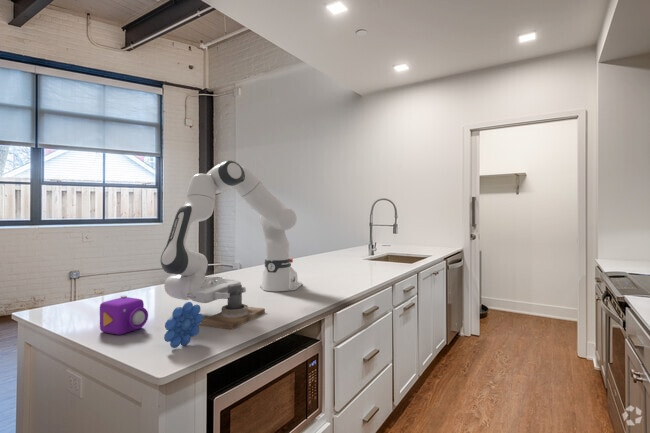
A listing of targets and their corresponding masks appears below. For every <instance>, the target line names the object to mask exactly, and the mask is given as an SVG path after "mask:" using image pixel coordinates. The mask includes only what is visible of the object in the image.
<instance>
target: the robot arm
mask: <svg viewBox="0 0 650 433" xmlns="http://www.w3.org/2000/svg"><path fill="white" fill-rule="evenodd" d="M230 189H234V190H235V191H236V192H237V193H238V194H239V195H240V196H241V197H242V199H243V200H244V201H245V202H246V203H247V204H248V205H249V207H251V209H253V210H254V211H255V212H257V213H258V214H260V215H259V222H260V224H261V226H262V231H263V235H264V241H265V259H264V269H263V270H262V280H261V284H259V287H260V289H262V290H263V291H266V292H285V291H296V290H297V289H298V288H300V287H301V286H302V285H303V282H302V281H299V280H298V273H297V271H296V270H294V268H293V267H292V263H293V262H294V259H293V258H290V242H289V240H288V237H287V234H286V231H288V230H290V229H292V228H294V227H295V226H296V224H297V214H296V213H295V211H294V210H292V208H289V207H288V206H287V205H286V204H285V203H283V202H282V201H281V200H280V198H277V197H276V196H275V195H274V194H273V193H272V192H271V191H270V190H269V189H268V188H267V187H266V186H265V185H264V183H263V182H262V181H261V180H260V179H259V178H258V176H256V174H255V173H253V172H252V171H251V170H250V169H248V168H247V167H246V166H242V165H240V164H239V163H238V162H236V161H235V160H226V161H225V160H224V161H223V162H220V163H219V164H217V165H215V166H213V167H212V168H211V169H210V170H208V171H207V172H205V173H202V172H201V173H196V174H194V175H192V177H191V178H190V181H189V182H188V186H187V191H186V194H185V202H184V204H183V205H182V206H181V207H179V209H178V210H177V212H176V214H175V216H174V220H173V223H172V226H171V229H170V233H169V235H168V239H167V242H166V245H165V247H164V249H163V251H162V254H161V256H160V265H161V268H162V270H163V271H164V273H167V274H170V276H168V277H166V279H165V281H164V284H163V285H164V287H163V288H164V291H165V293H166V294H167V295H168V296H169V297H171V298H174V299H177V300H180V301H182V300H183V301H189V300H191V301H192V302H196V303H200V304H208V303H212V302H214V301H217V300H228V298H230V293H228V285H230V284H241V285H242V282H241V281H240V280H235V279H229V278H223V277H222V276H215V277H213V276H212V277H209V276H206V274H207V271H208V268H209V261H208V258H207V256H206V254H203V253H201V252H199V251H195V250H191V249H188V248H187V245H186V242H187V238H188V235H189V231H190V227H191V225H192V224H193V223H197V222H204V221H206V220H208V219H209V218H210V217H212V215H213V212H214V210H215V203H216V202H215V200H216V196H217V195H218V196H219V195H220V194H222V193H224V192H228V190H230ZM245 292H247V290H246V287H245V286H242V294H244V293H245Z"/></svg>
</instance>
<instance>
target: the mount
mask: <svg viewBox="0 0 650 433" xmlns="http://www.w3.org/2000/svg"><path fill="white" fill-rule="evenodd" d="M265 310H266V309H265V308H264V307H254V306H248V304H245V303H242V309H236V310H230V309H228V304H226V305H222V307H221V312H217V313H216V314H213V315H211V316H209V317H205V318H203V320H202V322H201V323H200V325H201V326H206V327H214V328H219V329H220V328H221V329H225V330H233V329H236V328H237V327H239V326H241V325H243V324H245V323H247V322H249V321H251V320H253V319H255V318H257V317H259V316H261V315H263V314H265V313H266V311H265Z"/></svg>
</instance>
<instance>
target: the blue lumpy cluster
mask: <svg viewBox="0 0 650 433" xmlns="http://www.w3.org/2000/svg"><path fill="white" fill-rule="evenodd" d="M200 312H201V306H200V305H199V304H193V303H192V302H191V301H187V302H185V303H184V304H183V305H182V307H181V306H177V307H175V308H174V309H173V311H172V313H171V315H172V317H170V318H168V319H167V320H166V322H165V324H164V328H165V329H166V330H167V331H166V332H165V334H164V336H163V337H164V338H163V339H164V341H165V342H167V343H169V345H170V347H171V348H172V349H177V348H178V347H179V346H182V347H186V346H188V345H189V344H190V342H191V340H192V338H193V337H196V336H197V335H198V334H199V333H200V327H199V326H198V325H201V322H202V320H203V319H204V317H203V314H202V313H200ZM191 337H192V338H191Z"/></svg>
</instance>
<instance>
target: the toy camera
mask: <svg viewBox="0 0 650 433" xmlns="http://www.w3.org/2000/svg"><path fill="white" fill-rule="evenodd" d="M148 319H149V312H148V310H147V309H146V308H145V306H144V301H143V299H140V298H136V297H129V296H127V295H120V297H118V298H115V299H114V298H113V299H110V300H106V301H104V302H100V305H99V329H100V331H101V332H103V333H107V334H112V335H117V336H118V335H119V336H121V335H124V334H127V333H130V332H133V331H136V330H139V329H141V328H143V327H144V326H145V325H146V323H147V321H148Z"/></svg>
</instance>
